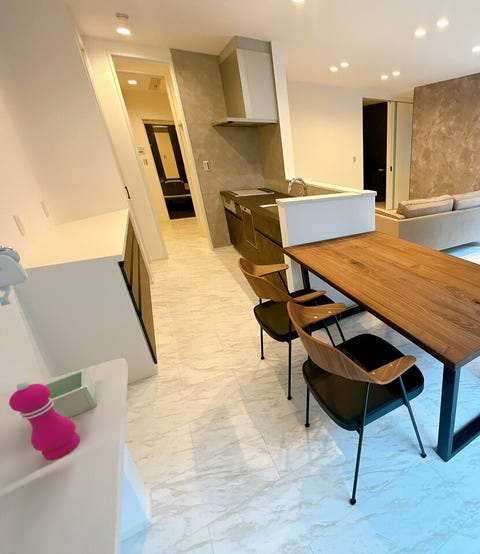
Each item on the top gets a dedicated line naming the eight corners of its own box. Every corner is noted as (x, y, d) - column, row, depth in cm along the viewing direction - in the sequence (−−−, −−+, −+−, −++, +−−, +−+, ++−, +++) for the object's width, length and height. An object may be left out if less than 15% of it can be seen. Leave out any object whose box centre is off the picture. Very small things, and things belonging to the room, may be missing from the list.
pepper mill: (82, 429, 76) (45, 367, 68) (83, 447, 71) (43, 382, 63) (43, 448, 72) (-2, 383, 64) (40, 468, 67) (-8, 401, 59)
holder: (41, 430, 77) (28, 409, 74) (45, 406, 84) (33, 387, 82) (96, 406, 83) (86, 386, 81) (95, 386, 91) (85, 368, 88)
